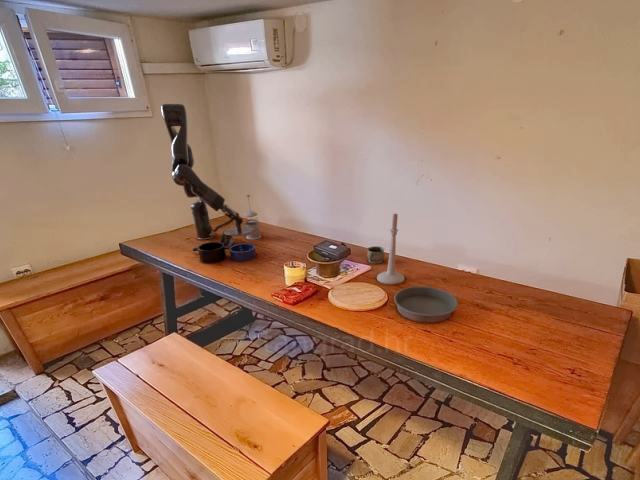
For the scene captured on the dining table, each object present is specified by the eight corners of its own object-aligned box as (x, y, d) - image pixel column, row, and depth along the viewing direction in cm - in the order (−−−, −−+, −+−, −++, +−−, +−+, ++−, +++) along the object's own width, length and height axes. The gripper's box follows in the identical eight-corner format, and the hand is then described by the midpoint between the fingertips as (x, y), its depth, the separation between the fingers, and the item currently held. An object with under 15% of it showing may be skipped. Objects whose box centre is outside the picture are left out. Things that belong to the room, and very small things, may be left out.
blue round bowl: (232, 252, 205) (231, 244, 203) (257, 251, 206) (256, 243, 203) (229, 261, 194) (227, 252, 191) (255, 260, 195) (253, 251, 192)
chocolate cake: (229, 249, 211) (235, 231, 213) (217, 246, 210) (222, 227, 212) (231, 256, 220) (236, 238, 222) (219, 253, 219) (224, 234, 221)
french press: (256, 233, 234) (250, 191, 220) (266, 237, 227) (261, 194, 212) (242, 236, 228) (236, 194, 214) (253, 241, 221) (246, 197, 207)
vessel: (373, 255, 197) (374, 244, 193) (388, 258, 193) (389, 247, 189) (362, 262, 189) (362, 251, 185) (377, 266, 185) (377, 254, 181)
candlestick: (388, 286, 165) (393, 219, 148) (371, 277, 174) (374, 212, 157) (410, 280, 170) (417, 213, 153) (392, 271, 179) (397, 207, 162)
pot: (198, 255, 204) (195, 242, 200) (233, 253, 205) (230, 241, 201) (192, 264, 192) (189, 251, 188) (229, 262, 193) (227, 249, 189)
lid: (227, 229, 198) (224, 210, 193) (254, 227, 199) (252, 209, 194) (223, 237, 186) (219, 218, 181) (251, 236, 187) (249, 216, 182)
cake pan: (416, 331, 134) (417, 320, 131) (382, 302, 152) (382, 292, 150) (469, 316, 141) (471, 306, 139) (431, 291, 160) (432, 281, 158)
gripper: (217, 195, 174) (247, 219, 183) (217, 190, 185) (245, 212, 195) (208, 208, 176) (238, 231, 185) (208, 201, 187) (236, 223, 197)
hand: (241, 221), depth 190 cm, fingers closed on lid, 2 cm apart
